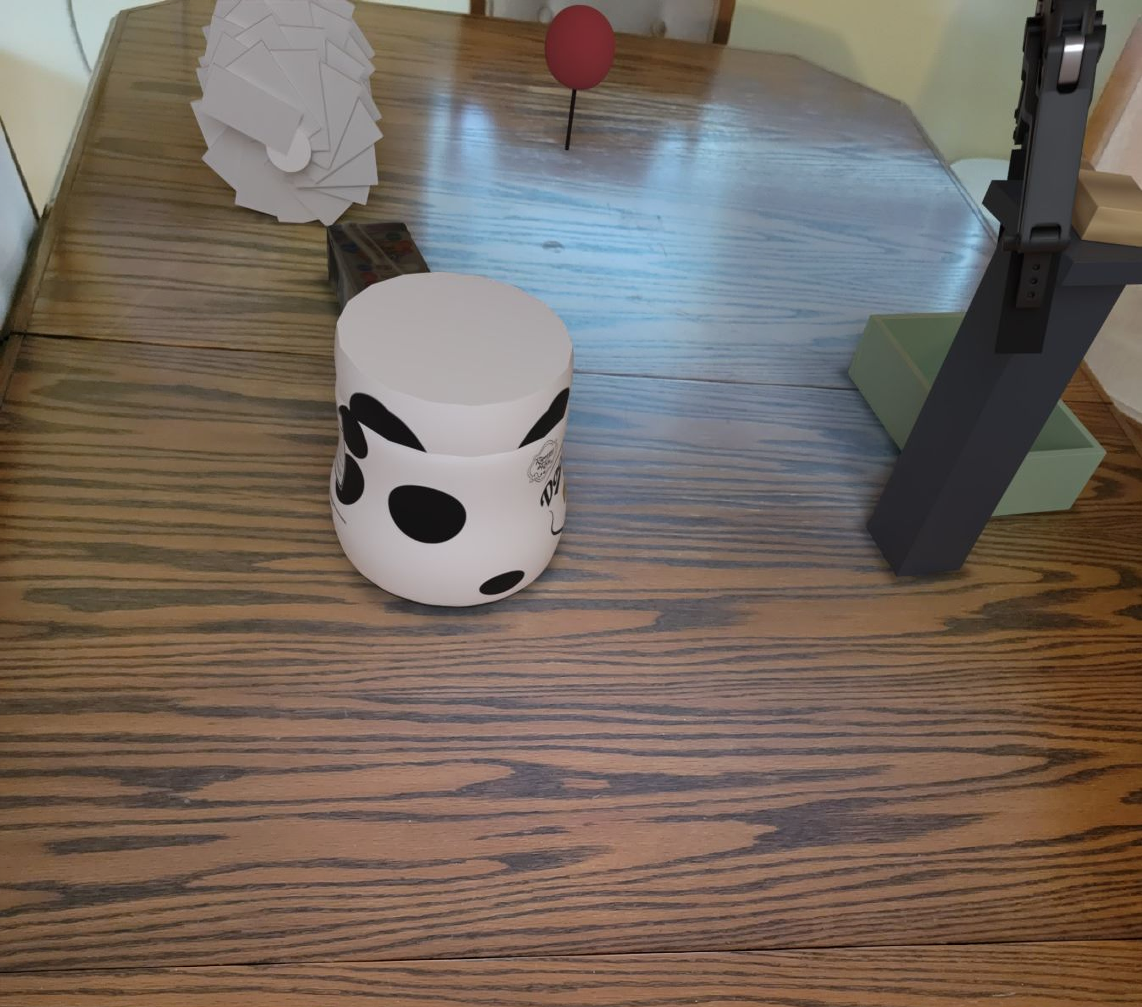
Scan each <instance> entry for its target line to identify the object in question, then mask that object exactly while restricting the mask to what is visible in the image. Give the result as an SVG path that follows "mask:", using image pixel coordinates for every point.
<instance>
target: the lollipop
mask: <svg viewBox="0 0 1142 1007" xmlns="http://www.w3.org/2000/svg"><path fill="white" fill-rule="evenodd" d="M543 48H544V58H545V63H546V65H547V68H548V70H549V72H550V74H551V75H552V77H553V78H554V79H555V80H556V81H557V82H558V83H559V84H560V85H562V86H564V87H565V88H568V89H571V95H570V96H571V97H570V104H569V114H568V121H567V129H566V137H565V144H564V150H565V151H569V150H570V144H571V138H572V129H573V122H574V114H575V107H576V99H577V92H578V91H584V90H585V91H587V90H590V89H593V88H595V87H597V86H598V85H600V84H601V83H602V82H603V81H604V80H605V78H606V77H607V76H608V75H609V73H610V71H611V68H612V67H613V64H614V60H615V55H616V37H615V33H614V29H613V27H612V25H611V22H610V21H609V19H608V18H607V17H606V16H605V15H604V13H602V12H601V11H600V10H598V9H597V8H595V7H593V6H590V5H585V4H574V5H569V6H567V7H564V8H563V9H561V10H560V11H559V12H557V13H556V15H555V16H554V17H553V18H552V20H551V22H550V24H549V26H548V28H547V31H546V34H545V38H544V47H543Z"/></svg>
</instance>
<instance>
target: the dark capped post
mask: <svg viewBox="0 0 1142 1007" xmlns="http://www.w3.org/2000/svg"><path fill="white" fill-rule="evenodd" d="M1023 181H1024V180H1007V179H991V180H990V183H989V185H988V187H987V190H986V192H985V195H984V197H983V199H982V202H981V205H982V206H983V207H984V208H985V209H986V210H987V211H988V212H989V213H990V214H991V215H992V216H993V217H994V218H995V219H996V220H997V221H998V222H999V224H1000V223H1001V224H1002V225H1003V226H1004V227H1005V230H1004V232H1003V235H1002V237H1001V239H1000V241H999V243H998V245H997V244H996V247H997V248H995V250H994V252H993V254H992V256H991V259H990V261H989V263H988V264H987V267H986V268H985V271H984V274H983V276H982V278H981V280H980V282H979V284H978V287H977V288H976V291H975V293H974V295H973V297H972V299H971V302H970V303H969V306H968V308H967V309H966V311H965V312H966V314H965V316H964V319H963V321H962V323H961V325H960V327H959V329H958V331H957V334H956V336H955V338H954V340H953V342H952V344H951V347H950V349H949V351H948V353H947V355H946V357H945V359H944V362H943V364H942V366H941V368H940V370H939V372H938V375H937V377H936V379H935V381H934V383H933V385H932V387H931V390H930V392H929V394H928V396H927V398H926V400H925V402H924V405H923V407H922V409H921V411H920V413H919V415H918V418H917V420H916V422H915V424H914V426H913V428H912V430H911V433H910V435H909V437H908V439H907V441H906V443H905V446H904V448H903V450H902V451H901V452H900V454H899V455H898V456H899V457H898V458H897V461H896V463H895V465H894V467H893V469H892V471H891V474H890V476H889V478H888V480H887V482H886V484H885V486H884V489H883V491H882V493H881V495H880V498H879V500H878V502H877V504H876V506H875V508H874V510H873V512H872V515H871V517H870V519H869V521H868V523H867V525H866V528H865V529H866V530H867V532H868V533H869V535H870V536H871V538H872V540H873V541H874V543H875V545H876V547H877V548H878V550H879V551H880V553H881V554H882V556H883V558H884V560H885V561H886V562H887V565H888V566H889V567H890V570H891V571H892V572H893V575H894V576H895V577H897V578H900V577H910V576H920V575H929V574H939V573H940V574H941V573H949V572H958V571H961V569H962V567H963V565H964V564H965V563H966V560H967V559H968V557H969V555H970V553H971V552H972V550H973V548H974V546H975V545H976V543H977V541H978V540H979V538H980V536H981V534H982V532H983V531H984V530H985V527H986V526H987V524H988V522H989V521H990V519H991V517H993V516H992V514H993V512H994V510H995V509H996V507H997V505H998V504H999V502H1000V500H1001V499H1002V497H1003V495H1004V493H1005V492H1006V490H1007V488H1008V487H1009V485H1010V483H1011V481H1012V480H1013V478H1014V476H1015V475H1016V473H1017V471H1018V469H1019V468H1020V466H1021V464H1022V463H1023V461H1024V459H1025V457H1026V456H1027V454H1028V452H1029V451H1030V449H1031V447H1032V445H1033V444H1034V442H1035V440H1036V439H1037V437H1038V435H1039V433H1040V432H1041V430H1042V428H1043V427H1044V425H1045V423H1046V421H1047V420H1048V418H1049V416H1050V415H1051V413H1052V411H1053V409H1054V408H1055V406H1056V404H1057V403H1058V401H1059V399H1061V398H1062V396H1063V394H1064V392H1065V391H1066V389H1067V388H1068V386H1069V384H1070V382H1071V380H1072V379H1073V378H1074V375H1075V373H1076V372H1077V370H1078V368H1079V367H1080V365H1081V363H1082V362H1083V360H1084V358H1085V356H1086V355H1087V354H1088V352H1089V349H1090V348H1091V346H1092V345H1093V343H1094V341H1095V340H1096V338H1097V336H1098V334H1099V332H1100V331H1101V329H1102V327H1103V325H1104V324H1105V323H1106V320H1107V319H1108V317H1109V316H1110V314H1111V312H1112V310H1113V308H1114V307H1115V305H1116V303H1117V301H1118V300H1119V298H1120V296H1121V295H1122V294H1123V291H1125V288H1126V286H1132V285H1133V286H1135V285H1136V286H1137V285H1138V286H1139V285H1142V247H1136V246H1128V245H1120V244H1112V243H1104V242H1095V241H1087V240H1081V238H1080V237H1079V235H1078V234H1077V232H1076V231H1075V229H1074V228H1073V226H1072V225H1071V228H1070V234H1071V242H1070V244H1069V246H1068V249H1066V251H1065V252H1062V255H1061V260H1060V265H1059V270H1058V275H1057V280H1056V285H1055V290H1054V295H1053V300H1052V305H1051V310H1050V315H1049V319H1048V324H1047V329H1046V334H1045V339H1044V344H1043V349H1042V353H1034V354H995V343H996V337H997V331H998V325H999V319H1000V313H1001V307H1002V300H1003V294H1004V288H1005V282H1006V276H1007V270H1008V264H1009V258H1010V252H1011V251H1001V249H1002V242H1003V238H1004V236H1015V234H1017V231H1018V223H1019V214H1020V206H1021V198H1022V189H1023ZM1053 225H1055V224H1038V225H1035V226H1053Z"/></svg>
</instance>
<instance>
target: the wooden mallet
mask: <svg viewBox="0 0 1142 1007" xmlns="http://www.w3.org/2000/svg"><path fill="white" fill-rule="evenodd" d="M1071 225H1072V226H1073V228H1074V229H1075V231H1076V232H1077V234H1078V235H1079V237H1080V238H1081V240H1087V241H1095V242H1104V243H1112V244H1120V245H1128V246H1136V247H1142V188H1141V187H1140V186H1139V185H1138V183H1137V182H1136V180H1135V179H1134V178H1133V176H1132V175H1130V174H1121V173H1114V172H1107V171H1099V170H1096V169H1095V167H1094V166H1093V164H1092V163H1091V162H1090V160H1089V159H1088V157H1087V156H1086V155H1085V153H1084V152H1083V151H1082V156H1081V163H1080V169H1079V176H1078V182H1077V189H1076V195H1075V202H1074V208H1073V215H1072V221H1071Z"/></svg>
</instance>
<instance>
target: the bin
mask: <svg viewBox="0 0 1142 1007" xmlns="http://www.w3.org/2000/svg"><path fill="white" fill-rule="evenodd" d="M966 312H967V311H950V312H949V311H948V312H947V311H945V312H915V313H914V312H913V313H879V314H877V313H876V314H869V317H868V319H867V322H866V324H865V327H864V330H863V333H862V334H861V338H860V339H859V343H858V346H857V348H856V351H855V352H854V356H853V357H852V361H851V363H850V366H849V369H848V372H847V375H848V376H849V377H850V379H851V380H852V381H853V383H854V384H855V386H856V387H857V389H858V390H859V391H860V394H861V395H862V396H863V397H864V399H865V401H866V402H867V403H868V405H869V406H870V408H871V410H872V411H873V412H874V413H875V415H876V417H877V418H878V419H879V421H880V423H881V424H882V425H883V427H884V428H885V430H886V431H887V432H888V434H889V436H890V437H891V439H892V440H893V441H894V442H895V444H896V446H897V447H898V448H899V450H900V451H901V452H902V450H903V448H904V446H905V443H906V441H907V439H908V437H909V435H910V433H911V430H912V428H913V426H914V424H915V422H916V420H917V418H918V415H919V413H920V411H921V409H922V407H923V405H924V402H925V400H926V398H927V396H928V394H929V392H930V390H931V387H932V385H933V383H934V381H935V379H936V377H937V375H938V372H939V370H940V368H941V366H942V364H943V362H944V359H945V357H946V355H947V353H948V351H949V349H950V347H951V344H952V342H953V340H954V338H955V336H956V334H957V331H958V329H959V327H960V325H961V323H962V321H963V319H964V316H965V314H966ZM1106 455H1107V451H1106V450H1105V449H1104V447H1103V446H1102V445H1101V444H1100V442H1098V440H1097V439H1096V438H1095V437H1094V436H1093V434H1092V433H1091V432H1090V431H1089V430H1088V428H1086V426H1085V425H1084V424H1083V423H1082V421H1080V419H1079V418H1078V417H1077V416H1076V414H1074V413H1073V411H1072V410H1071V409H1070V408H1069V407H1068V405H1067V404H1066V403H1065V402H1064V401H1063V400H1062V399H1061V398H1060V399H1059V401H1058V403H1057V404H1056V406H1055V408H1054V409H1053V411H1052V413H1051V415H1050V416H1049V418H1048V420H1047V421H1046V423H1045V425H1044V427H1043V428H1042V430H1041V432H1040V433H1039V435H1038V437H1037V439H1036V440H1035V442H1034V444H1033V445H1032V447H1031V449H1030V451H1029V452H1028V454H1027V456H1026V457H1025V459H1024V461H1023V463H1022V464H1021V466H1020V468H1019V469H1018V471H1017V473H1016V475H1015V476H1014V478H1013V480H1012V481H1011V483H1010V485H1009V487H1008V488H1007V490H1006V492H1005V493H1004V495H1003V497H1002V499H1001V500H1000V502H999V504H998V505H997V507H996V509H995V510H994V512H993V514H992V516H991V517H997V516H1009V515H1019V514H1020V515H1021V514H1029V513H1030V514H1031V513H1041V512H1052V511H1062V510H1063V511H1065V510H1070V509H1071V508H1072V507H1073V505H1074V503H1075V502H1076V500H1078V497H1079V495H1080V494H1081V493H1082V491H1083V489H1084V488H1085V486H1086V485H1087V484H1088V482H1089V481H1090V479H1091V478H1092V476H1093V474H1094V473H1095V472H1096V470H1097V468H1098V467H1099V465H1100V464H1101V462H1102V461H1103V459H1104V458H1105V457H1106Z"/></svg>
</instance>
